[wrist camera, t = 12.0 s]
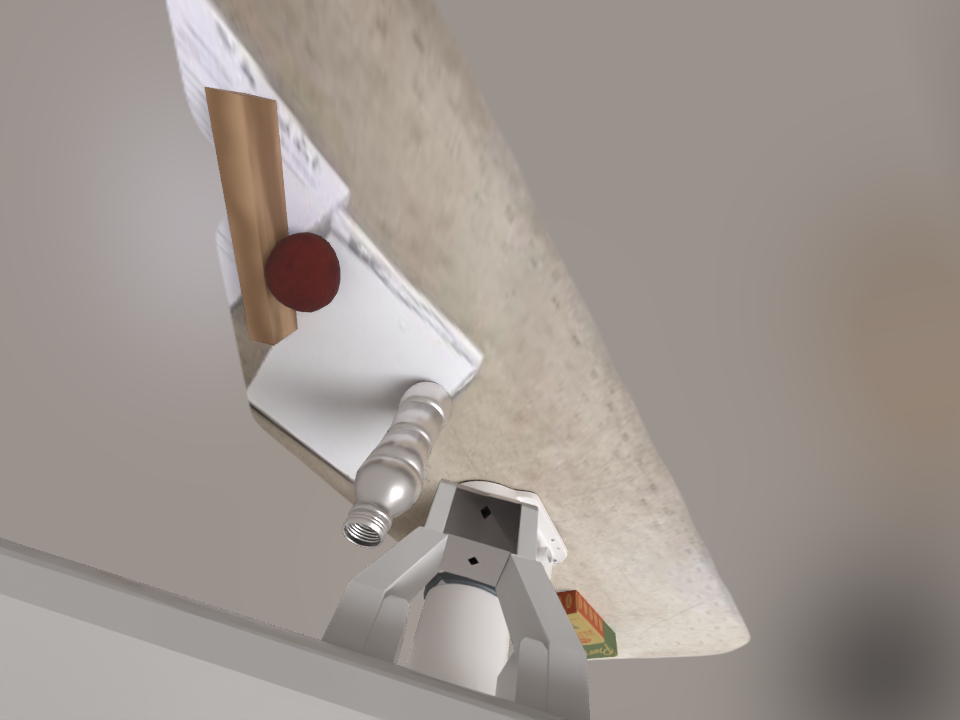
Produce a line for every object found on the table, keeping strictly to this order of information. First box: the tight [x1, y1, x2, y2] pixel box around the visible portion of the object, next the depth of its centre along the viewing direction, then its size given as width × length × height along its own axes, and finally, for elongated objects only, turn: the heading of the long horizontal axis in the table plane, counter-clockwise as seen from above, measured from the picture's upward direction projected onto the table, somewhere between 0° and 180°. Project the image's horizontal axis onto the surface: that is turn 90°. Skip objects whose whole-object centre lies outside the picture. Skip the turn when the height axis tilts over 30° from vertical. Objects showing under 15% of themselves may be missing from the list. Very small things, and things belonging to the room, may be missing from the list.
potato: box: [265, 232, 340, 312], centre depth 37 cm, size 7×8×7 cm
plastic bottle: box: [342, 382, 452, 548], centre depth 39 cm, size 6×7×20 cm
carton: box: [557, 590, 617, 659], centre depth 67 cm, size 8×16×4 cm, turn 35°
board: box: [205, 87, 297, 346], centre depth 37 cm, size 3×24×4 cm, turn 169°
